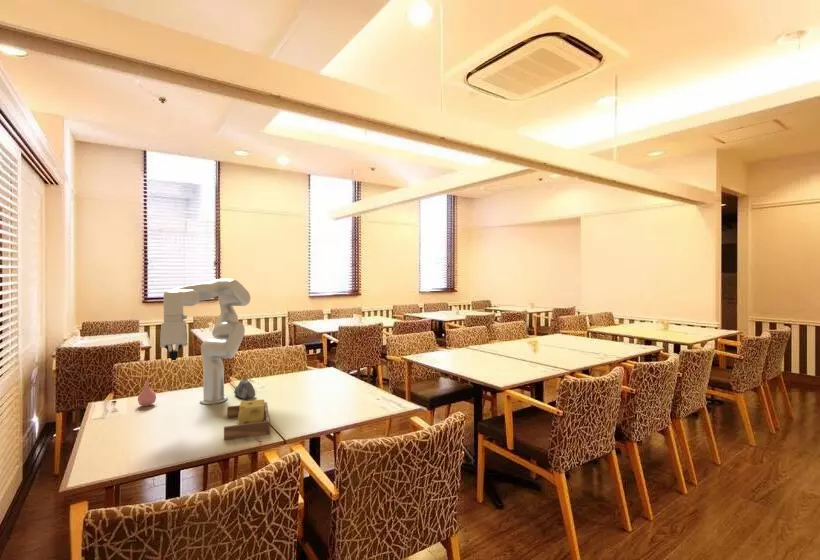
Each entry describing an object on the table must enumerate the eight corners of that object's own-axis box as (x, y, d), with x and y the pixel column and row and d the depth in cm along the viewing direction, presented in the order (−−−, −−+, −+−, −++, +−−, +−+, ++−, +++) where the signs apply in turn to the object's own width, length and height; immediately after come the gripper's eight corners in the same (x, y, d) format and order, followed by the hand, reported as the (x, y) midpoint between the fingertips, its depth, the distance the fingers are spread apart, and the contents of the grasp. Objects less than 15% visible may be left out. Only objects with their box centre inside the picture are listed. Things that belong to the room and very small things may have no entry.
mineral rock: (234, 393, 219) (234, 375, 219) (255, 391, 223) (255, 373, 223) (233, 401, 207) (232, 381, 207) (255, 398, 211) (255, 379, 211)
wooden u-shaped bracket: (227, 417, 184) (227, 406, 183) (267, 412, 190) (267, 402, 190) (224, 440, 159) (223, 427, 159) (269, 434, 165) (269, 421, 165)
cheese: (237, 432, 167) (237, 408, 167) (240, 422, 178) (240, 400, 177) (264, 429, 170) (263, 406, 170) (265, 420, 180) (265, 398, 180)
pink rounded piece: (149, 408, 195) (149, 383, 195) (133, 408, 196) (133, 383, 195) (159, 403, 203) (159, 379, 203) (144, 402, 203) (144, 379, 203)
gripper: (193, 317, 185) (194, 356, 186) (155, 318, 180) (156, 359, 180) (191, 318, 178) (191, 360, 179) (152, 320, 173) (152, 363, 173)
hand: (174, 359), depth 179 cm, fingers closed
